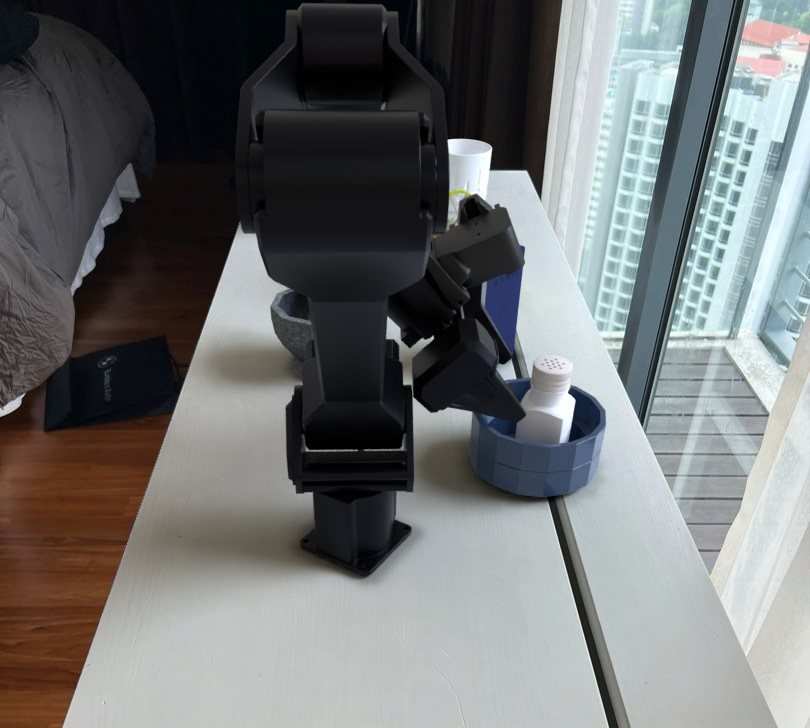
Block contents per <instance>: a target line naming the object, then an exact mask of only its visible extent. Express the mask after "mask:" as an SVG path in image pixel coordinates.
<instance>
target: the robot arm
mask: <svg viewBox="0 0 810 728" xmlns="http://www.w3.org/2000/svg"><path fill="white" fill-rule="evenodd" d="M284 27H285V28H284V33H285V34H284V41H283V42H282V43H281V44H280V46H279V47H277V48H276V49H275V51H274V52H272V54H270V56H269V57H268V58H267V59H266V60H265V61H264V62H262V64H260V65H259V67H258V68H257V69H256V70H255V71H254V72H253V73H252V74H251V75H250V76H249V77H248V78H247V79H246V80H245V81H244V82H243V83H242V85H241V87H240V89H239V102H238V103H239V104H238V113H237V114H238V115H237V126H236V138H235V152H234V157H235V158H234V177H235V193H236V202H237V203H236V204H237V205H236V206H237V212H238V219H239V223H240V228H241V230H242V232H243V234H245V235H246V234H249V235H251V234H252V235H253V234H254V235H255V236H256V242H257V248H258V251H259V254H260V257H261V260H262V263H263V266H264V268H265V271H266V274H267V276H268V277H269V278H270V279H271V281H273V282H275V283H277V284H279V285H281V286H282V287H283V286H284V288H287V289H292V290H294V291H296V292H298V293H300V294H302V295H304V296H306V297H307V299H308V306H309V312H310V319H311V326H312V333H313V339H311V340H309V342H308V343H307V344H306V346H305V350H306V361H305V362H304V363H303V364H302V377H301V378H302V379H301V380H302V381H301V383H302V384H295V385H294V387H293V394H291V400H290V401H289V402H288V403H287V404H286V405H285V448H286V449H285V452H286V468H287V469H286V470H287V479H289V480H290V481H291V482H292V486H294V487H295V493H296V495H298V494H299V495H304V494H305V493H312V504H313V518H314V519H313V520H314V521H313V523H314V527H313V528H312V529H311V530H310V531H308V532H307V533H306V534H305V535H304V536H303V537H302V538H301V539H300V540H299V547H300V549H302V550H303V551H306V552H308V553H310V554H313V555H316V556H317V557H320V558H322V559H324V560H327V561H329V562H331V563H333V564H335V565H338V566H340V567H342V568H344V569H347V570H349V571H351V572H353V573H355V574H358V575H361V576H363V577H370V576H371V575H372V574H374V572H376V570H377V569H378V568H380V567H381V566H382V564H383V563H384V562H385V561H386V560H387V559H388V558H389V557H390V556H391V555H393V553H394V552H395V551H396V550H397V549H398V548H399V547H400V546H401V545H402V544H403V543H404V542H405V541H406V540H407V539H408V538H409V537H410V536H411V535H412V533H413V528H412V526H411V525H410V524H408V523H406V522H402V521H401V520H398V519H396V516H397V492H405V493H414V489H415V487H414V486H415V440H414V439H415V437H414V433H415V432H414V400H415V401H417V402H418V403H419V404H420V405H421V406H422V407H423V408H424V409H425V410H427V412H429V413H430V414H437V413H438V412H440V411H445V410H446V409H448V408H450V409H455V410H460V411H465V412H471V413H472V412H475V413H479V414H483V415H487V416H491V417H494V418H498V419H502V420H506V421H510V422H514V423H517V422H519V421H520V420H522V419H523V418H524V417H525V416H526V412H525V410H524V408H523V407H522V405H521V404H520V402H519V401H518V399H517V398H516V397H515V395H514V394H513V392H512V391H511V389H510V388H509V387H508V385H507V384H506V382H505V379H504V378H503V376H502V375H501V373H499V371H498V369H497V368H498V365H502V366H504V365H506V364H507V363H509V362H510V361H511V360H512V358H513V356H512V355H511V353H510V351H509V349H508V347H507V346H506V344H505V342H504V340H503V339H502V337H501V335H500V333H499V332H498V330H497V328H496V327H495V325H494V323H493V321H492V320H491V318H490V316H489V314H488V313H487V311H486V309H485V307H484V305H483V304H482V302H481V296H482V283H484V282H487V281H489V280H491V279H494V278H496V277H498V276H501V275H503V274H507V275H510V274H512V273H515V272H517V271H518V270H520V269H521V268H522V267H523V268H524V266H525V264H526V260H525V256H524V257H523V254H522V251H521V247H520V245H521V244H520V242H519V240H518V236H517V233H516V231H515V228H514V225H513V223H512V219H511V217H510V214H509V210H508V208H507V207H506V206H501V205H500V202H499V203H495V204H494V205H493V207H492V205H491V204H490V203H488V202H487V201H485V200H484V199H483V198H481V197H480V196H479V195H478V194H473V195H471V196H469V197H467V198H464V199H462V200H460V201H459V209H458V220H457V224H458V225H456V226H455V225H454V223H453V224H451V225H449V229H450V230H448V231H447V232H446V228H447V221H448V210H449V188H450V165H449V148H448V140H449V138H448V128H447V126H448V125H447V115H446V103H445V91H444V89H443V87H442V85H441V84H440V83H439V82H438V81H437V80H436V79H435V78H434V77H433V76H432V75H431V74H430V72H428V71H427V70H426V69H425V68H424V66H422V64H421V63H420V62H419V61H418V60H417V59H416V58H415V57H414V56H413V55H412V54H411V53H410V52H409V51H408V50H407V49H406V48H405V46H403V44H402V43H401V40H400V23H399V11H387V9H386V7H385V6H384V5H383V4H381V3H379V4H378V3H377V4H376V3H322V2H321V3H320V2H319V3H315V2H313V3H312V2H302V3H301V4H300V6H299V7H298V8H297V9H286V11H285V26H284ZM432 234H441V235H439V236H437V237H434V236H433V235H432ZM388 318H389V319H390V320H391V321H392V322H393V323H394V325H396V326H397V327H398V328H399V330H400V332H399V333H400V341H401V342H402V343H403V344H404V345H405V346H406V347H407V348H408V349H412V348H413V347H414V346H415V345H416V344H417V343H419V341H421V340H422V339H423V340H424V341H427V340H429V339H432V337H433V339H432V340H431V341H430V342H429V343H427V344H426V345H425V346H424V347H422V349H420V350H419V351H418V352H417V353H416V354H414V356H412V357H411V383H412V384H404V363H403V362H402V361H401V360H400V344H399V343H398V342H397V341H396V340H395V339H394V338H387V332H388V331H387V330H388ZM498 363H499V364H498ZM401 448H402V450H401ZM307 450H308V451H307Z"/></svg>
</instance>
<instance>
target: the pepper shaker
mask: <svg viewBox="0 0 810 728" xmlns="http://www.w3.org/2000/svg"><path fill="white" fill-rule="evenodd" d="M573 370H574V364H573V362H572V361H570V360H569V359H568V358H565V357H563V356H560V355H555V354H554V355H552V354H546V355H540V356H538V357H537V358H534V360H533V362H532V370H531V377H530V378H531V382H530V384H531V389H530V390H529V391H528V392H527V393H526V394H525V396H524V398H523V399H522V401H521V403H520V404H521V405H522V407H523V408H524V410H525V412H526V416H525V417H524V418H523V419H522V420H520V421H519V422H517V428H516V436H515V439H517V440H520V441H523V442H531V443H541V444H557V443H566V442H568V441H569V435H570V430H571V424H572V418H573V412H574V406H575V399H574V398H573V397H572V396H571V395H570V394H568V390H569V389H570V385H571V382H572V377H573Z"/></svg>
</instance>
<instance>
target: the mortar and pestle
mask: <svg viewBox="0 0 810 728" xmlns="http://www.w3.org/2000/svg"><path fill="white" fill-rule="evenodd" d="M269 308H270V309H269V310H270V321H271V324H272V328H273V331H274V334H275V336H276V338H277V339H279V342H280V343H281V345H282V347H284V348H285V349H286V350H287V351H288V352H289V353H290V354H291V356H293V361H292V367H293V368H292V369H293V371H295V372H296V373H297V374H298V375H299V376H300V377H301V378H302V364H303V363H304V362H305V361H306V350H305V346H306V344H307V343H308V342H309V340H311V339H313V333H312V326H311V319H310V312H309V306H308V299H307V297H306V296H304V295H302V294H300V293H298V292H296V291H294V290H292V289H290V288H287V289H285V290H282V291H279V292H277V293H276V295H275V297H274V298H273V300H272V302H271V304H270V306H269Z"/></svg>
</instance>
